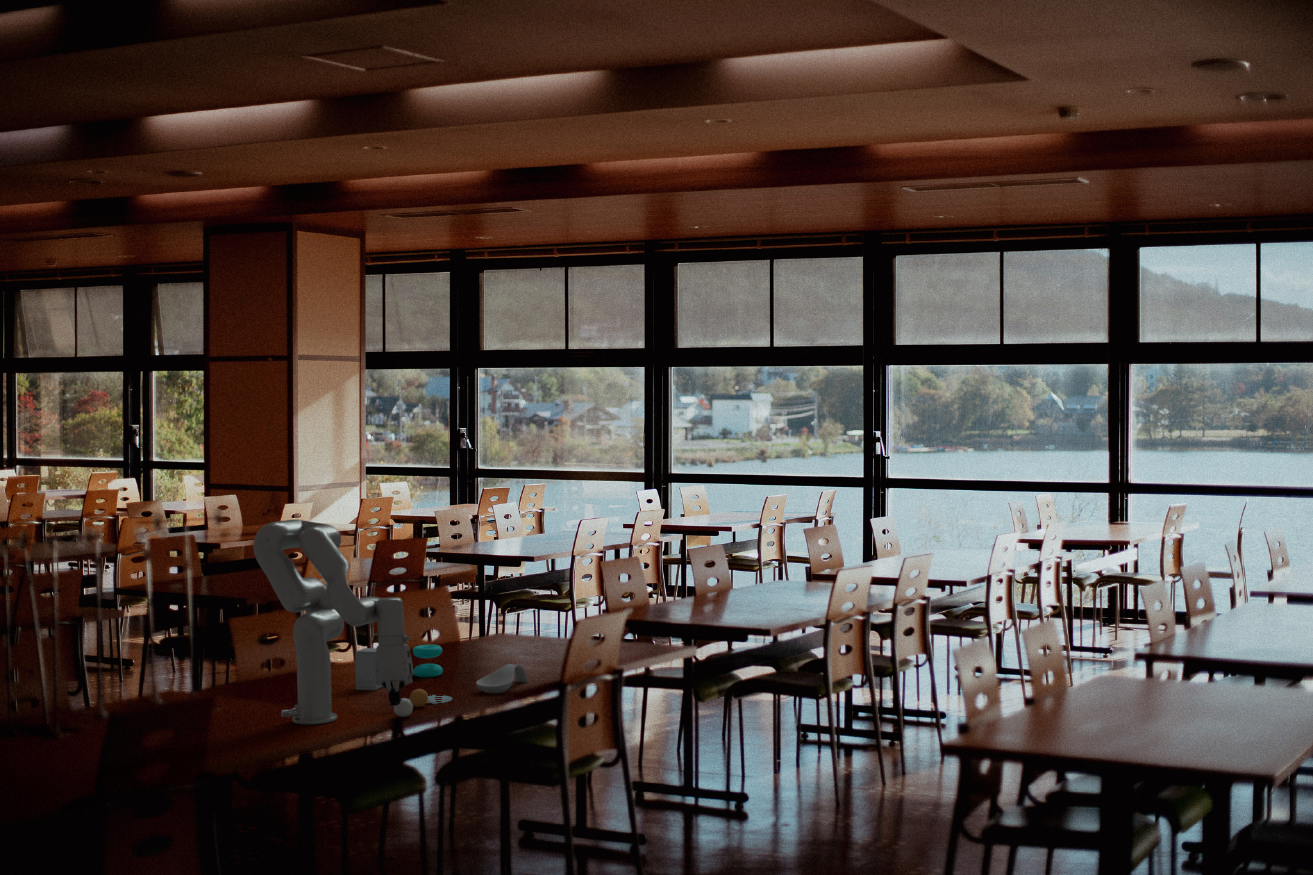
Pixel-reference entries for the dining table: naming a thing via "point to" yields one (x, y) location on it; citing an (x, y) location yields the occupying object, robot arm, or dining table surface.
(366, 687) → the supplement box
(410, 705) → the cue ball
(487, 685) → the spoon rest
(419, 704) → the orange ball
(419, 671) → the donuts
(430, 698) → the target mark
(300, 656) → the robot arm
